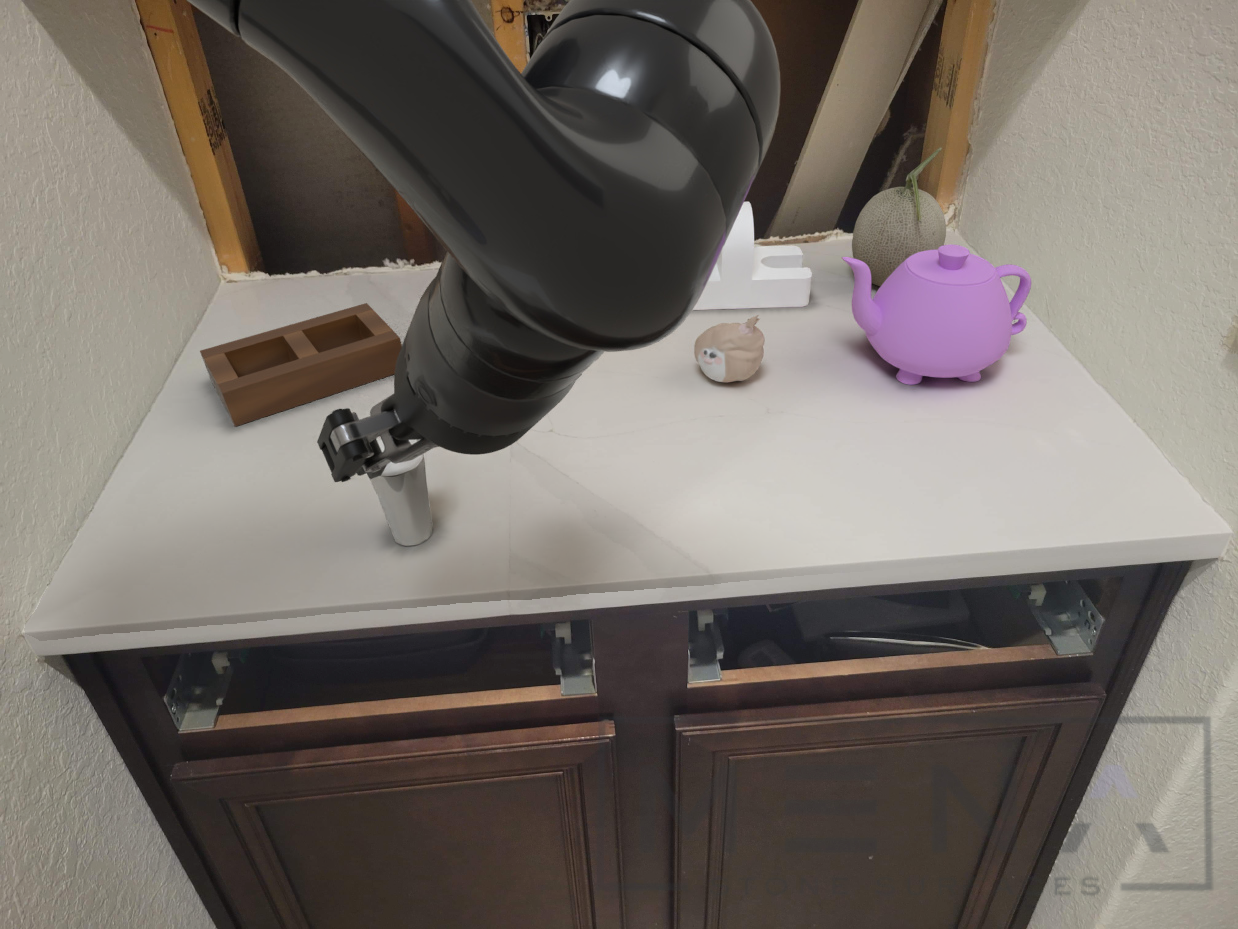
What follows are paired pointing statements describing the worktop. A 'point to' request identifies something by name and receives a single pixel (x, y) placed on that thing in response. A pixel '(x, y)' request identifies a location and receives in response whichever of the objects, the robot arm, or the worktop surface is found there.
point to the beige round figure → (730, 350)
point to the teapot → (940, 313)
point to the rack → (301, 362)
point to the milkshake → (405, 499)
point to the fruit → (898, 227)
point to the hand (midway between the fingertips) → (431, 438)
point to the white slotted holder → (755, 273)
